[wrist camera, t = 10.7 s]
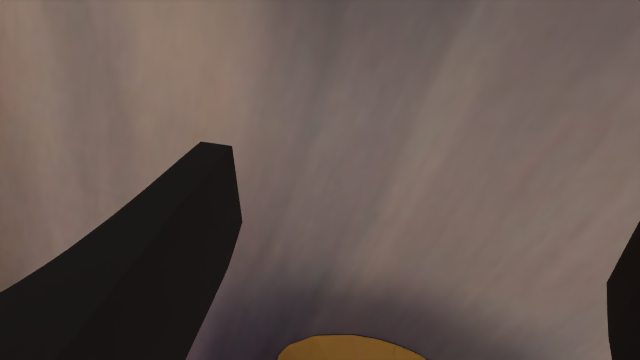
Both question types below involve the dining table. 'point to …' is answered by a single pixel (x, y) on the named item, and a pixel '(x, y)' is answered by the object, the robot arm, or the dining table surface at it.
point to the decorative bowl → (345, 349)
